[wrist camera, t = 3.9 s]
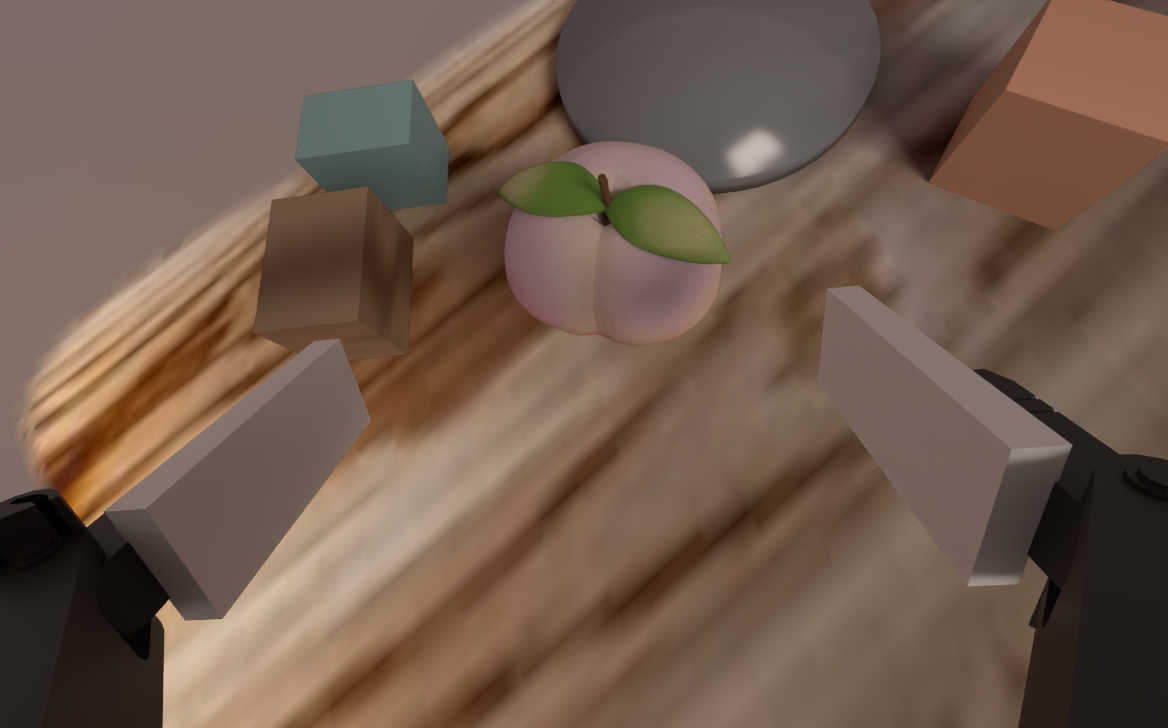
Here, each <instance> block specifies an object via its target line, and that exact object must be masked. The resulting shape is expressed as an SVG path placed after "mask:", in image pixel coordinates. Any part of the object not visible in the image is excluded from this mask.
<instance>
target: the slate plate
mask: <svg viewBox="0 0 1168 728" xmlns="http://www.w3.org/2000/svg"><path fill="white" fill-rule="evenodd" d="M880 54H881V39H880V30H879V26H878V22H877V18H876V15H875V13H874V10H873V8H872V6H871V4H870V2H869V0H578V1H577V3H576V4H575V6H574V7H573V9H572V10H571V12H570V14H569V16H568V18H567V20H566V22H565V24H564V26H563V29H562V32H561V35H560V38H559V42H558V47H557V54H556V75H557V81H558V86H559V91H560V96H561V100H562V105H563V108H564V110H565V113H566V116H567V119H568V121H569V123H570V124H571V126H572V128H573V130H574V132H575V133H576V135H577V136H578V137H579V139H580V140H581V141H582V142H583V144H584V145H587V144H590V143H596V142H605V141H620V142H631V143H637V144H643V145H647V146H652V147H656V148H659V149H662V150H664V151H666V152H669V153H671V154H672V155H674V156H676V157H677V158H679V159H681V160H682V161H683V162H685V163H686V164H687V165H689V166H690V167H691V168H692V169H693V170H694V171H695V172H696V173H697V174H698V175H699V176H700V177H701V178H702V179H703V181H704V182H705V183H706V185H707V186H708V188H709V190H710V191H711V193H712V194H716V193H726V192H736V191H741V190H746V189H750V188H755V187H759V186H762V185H765V184H768V183H771V182H774V181H777V180H780V179H782V178H785V177H787V176H789V175H791V174H793V173H795V172H797V171H800V170H801V169H803V168H804V167H806V166H808V165H809V164H811V163H812V162H814V161H816V160H817V159H819V158H820V157H821V156H822V155H823V154H825V153H826V152H827V151H828V150H830V149H831V148H832V147H833V146H834V145H835V144H836V143H837V142H838V141H839V140H840V139H841V138H842V137H843V135H844V134H845V133H846V132H847V131H848V130H849V128H850V127H851V125H852V124H853V122H854V121H855V119H856V118H857V116H858V115H859V113H860V111H861V109H862V107H863V105H864V103H865V101H866V99H867V97H868V95H869V93H870V91H871V89H872V86H873V84H874V82H875V79H876V75H877V72H878V68H879V64H880Z"/></svg>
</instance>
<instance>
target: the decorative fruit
mask: <svg viewBox="0 0 1168 728" xmlns="http://www.w3.org/2000/svg"><path fill="white" fill-rule="evenodd" d="M498 193H499V195H500V196H501V197H502V198H503V199H504V200H505V201H506V202H508V203H509V204H511V205H512V206H514V207H515V209H514V211H513V213H512V216H511V219H510V222H509V225H508V229H507V233H506V240H505V271H506V275H507V280H508V284H509V286H510V289H511V291H512V293H513V294H514V296H515V298H516V300H517V301H518V302H519V303H520V304H521V305H522V307H523V308H524V309H525V310H526V311H527V312H528V313H530V314H531V315H532V316H534V317H535V318H537V319H538V320H540V321H542V322H543V323H545V324H547V325H549V326H551V327H554V328H557V329H559V330H562V331H565V332H568V333H571V334H576V335H597V334H600V335H602V336H605V337H607V338H609V339H611V340H613V341H615V342H618V343H622V344H631V345H644V344H655V343H660V342H664V341H667V340H670V339H673V338H676V337H678V336H680V335H682V334H683V333H685V332H687V331H689V330H690V329H691V328H692V327H694V326H695V325H696V324H698V322H699V321H700V320H701V319H702V318H703V317H704V316H705V315H706V313H707V312H708V310H709V309H710V307H711V305H712V304H713V302H714V299H715V297H716V294H717V292H718V288H719V283H720V278H721V270H722V264H727V263H729V262H730V257H729V255H728V252H727V250H726V247H725V244H724V242H723V241H722V231H721V223H720V216H719V212H718V208H717V205H716V202H715V199H714V197H713V195H712V193H711V191H710V190H709V188H708V186H707V185H706V183H705V182H704V181H703V179H702V178H701V177H700V176H699V175H698V174H697V173H696V172H695V171H694V170H693V169H692V168H691V167H690V166H689V165H687V164H686V163H685V162H683V161H682V160H681V159H679V158H677V157H676V156H674V155H672V154H671V153H669V152H666V151H664V150H662V149H659V148H656V147H652V146H647V145H643V144H637V143H631V142H620V141H605V142H596V143H590V144H587V145H583V146H580V147H577V148H575V149H572V150H570V151H568V152H566V153H564V154H562V155H561V156H559V157H557V158H556V159H554V160H553V161H552V162H547V163H541V164H538V165H535V166H532V167H529V168H527V169H525V170H523V171H521V172H519V173H518V174H516V175H514V176H513V177H511V178H510V179H509V180H507V181H506V182H505V184H504V185H503V186H502V187H501V188H500V189H499V190H498Z"/></svg>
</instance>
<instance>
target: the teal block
mask: <svg viewBox="0 0 1168 728" xmlns="http://www.w3.org/2000/svg"><path fill="white" fill-rule="evenodd" d="M295 160H296V161H297V162H298V163H299V164H300V165H301V166H302V167H303V168H304V169H305V170H306V171H307V172H308V173H309V174H310V175H311V176H312V177H313V178H314V179H315V180H316V181H317V182H318V183H319V184H320V185H321V186H322V187H323V188H324V189H325V190H326V191H327V192H332V191H339V190H346V189H353V188H360V187H367V186H368V187H369V188H370V189H371V191H372V192H373V193H374V194H375V195H376V196H377V198H378V199H379V200H380V201H381V202H382V203H383V204H384V206H385V207H386V208H387V209H388V210H395V209H403V208H411V207H419V206H427V205H435V204H443V203H447V189H448V160H449V146H448V144H447V142H446V140H445V138H444V136H443V135H442V133H441V131H440V129H439V127H438V125H437V123H436V122H435V120H434V118H433V116H432V114H431V112H430V111H429V109H428V107H427V105H426V103H425V101H424V100H423V98H422V96H421V94H420V92H419V90H418V88H417V87H416V85H415V83H414V81H413V80H407V81H401V82H394V83H388V84H381V85H375V86H368V87H361V88H354V89H348V90H341V91H335V92H328V93H321V94H315V95H308V96H304V100H303V107H302V114H301V121H300V128H299V134H298V141H297V149H296V155H295Z"/></svg>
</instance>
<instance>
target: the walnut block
mask: <svg viewBox="0 0 1168 728" xmlns="http://www.w3.org/2000/svg"><path fill="white" fill-rule="evenodd" d="M412 261H413V238H412V237H411V236H410V235H409V234H408V232H407V231H406V230H405V229H404V228H403V227H402V225H401V224H400V223H399V222H398V221H397V220H396V218H395V217H394V216H393V215H392V214H391V213H390V211H389V210H388V209H387V208H386V207H385V206H384V204H383V203H382V202H381V201H380V200H379V199H378V198H377V196H376V195H375V194H374V193H373V192H372V191H371V189H370V188H369V187H368V186H367V187H360V188H353V189H346V190H339V191H332V192H325V193H318V194H311V195H304V196H297V197H290V198H283V199H276V200H272V205H271V212H270V219H269V226H268V233H267V240H266V247H265V254H264V262H263V269H262V276H261V283H260V290H259V297H258V304H257V311H256V318H255V325H254V333H255V334H258V335H260V336H262V337H264V338H266V339H268V340H271V341H273V342H275V343H277V344H279V345H281V346H284V347H286V348H288V349H290V350H292V351H294V352H297V353H300V352H301V351H303V350H304V349H305V348H306V347H307V346H309V345H310V344H311V343H312V342H314V341H320V340H330V339H340V341H341V343H342V346H343V348H344V351H345V354H346V356H347V359H348V361H351V360H361V359H370V358H380V357H389V356H399V355H408V354H409V331H410V308H411V284H412Z"/></svg>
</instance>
